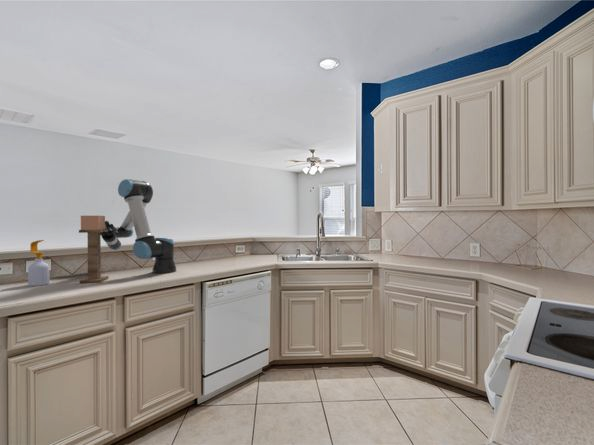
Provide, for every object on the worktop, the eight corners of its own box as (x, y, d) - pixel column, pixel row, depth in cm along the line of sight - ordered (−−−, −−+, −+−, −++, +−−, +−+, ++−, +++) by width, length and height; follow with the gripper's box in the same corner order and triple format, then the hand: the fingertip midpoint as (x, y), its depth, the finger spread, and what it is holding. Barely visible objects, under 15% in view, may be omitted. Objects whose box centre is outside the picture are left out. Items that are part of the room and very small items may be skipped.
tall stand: (88, 279, 191) (87, 229, 190) (108, 278, 193) (108, 229, 193) (79, 283, 179) (78, 230, 179) (101, 282, 181) (100, 229, 181)
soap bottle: (40, 286, 172) (40, 240, 171) (23, 286, 172) (23, 240, 172) (53, 282, 181) (53, 239, 180) (37, 282, 181) (37, 239, 181)
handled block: (97, 228, 202) (97, 216, 202) (112, 228, 204) (112, 216, 204) (80, 229, 179) (80, 215, 179) (98, 229, 181) (98, 215, 181)
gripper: (123, 242, 212) (112, 225, 192) (94, 242, 208) (80, 225, 188) (124, 232, 215) (114, 214, 196) (96, 232, 212) (83, 214, 192)
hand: (98, 219), depth 192 cm, fingers closed on handled block, 4 cm apart
